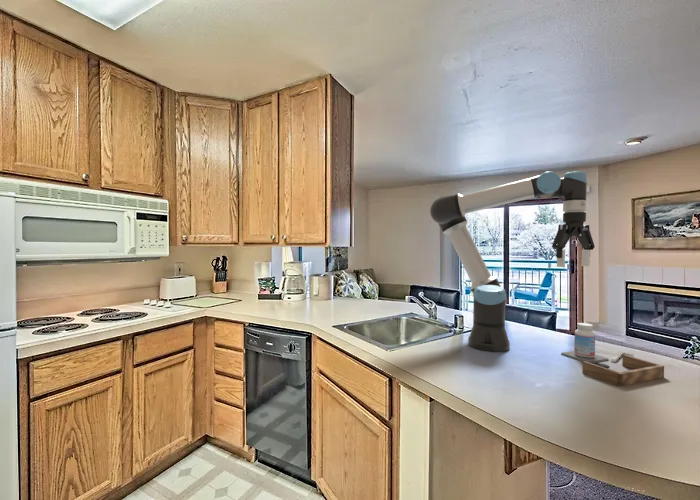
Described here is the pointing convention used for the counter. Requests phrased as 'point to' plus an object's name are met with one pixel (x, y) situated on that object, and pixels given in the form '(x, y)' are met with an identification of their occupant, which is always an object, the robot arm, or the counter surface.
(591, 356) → the pill bottle
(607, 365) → the disc
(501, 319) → the robot arm
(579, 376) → the counter surface
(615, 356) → the crook tool
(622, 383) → the cubby
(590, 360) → the coaster
